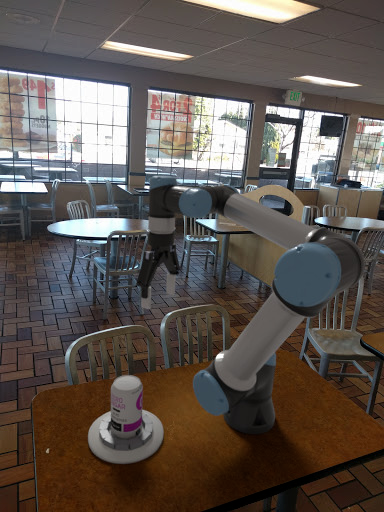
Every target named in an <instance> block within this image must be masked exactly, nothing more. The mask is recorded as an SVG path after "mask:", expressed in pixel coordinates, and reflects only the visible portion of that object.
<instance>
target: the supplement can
mask: <svg viewBox="0 0 384 512" xmlns="http://www.w3.org/2000/svg"><path fill="white" fill-rule="evenodd" d="M143 390H144V386H143V383H142V381H141V379H140V378H139V377H137V376H135V375H131V374H124V375H121V376H118V377H116V378H115V379H114V381H113V383H112V385H111V387H110V411H111V433H112V435H113V436H114V437H116V438H117V439H119V440H130V439H133V438H135V437H137V436H138V435H139V434H140V433H141V430H142V410H143V395H144V391H143Z"/></svg>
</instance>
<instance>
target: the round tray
mask: <svg viewBox="0 0 384 512" xmlns="http://www.w3.org/2000/svg"><path fill="white" fill-rule="evenodd" d="M163 439H164V425H163V423H162V421H161V420H160V419H159V417H157V416H156V415H155V414H153V413H152V412H150V411H147V410H145V409H142V430H141V433H140V434H139V435H138V436H137V437H135V438H133V439H130V440H119V439H117V438H116V437H114V436H113V435H112V433H111V410H110V411H108V412H106V413H104V414H102V415H101V416H99V417H98V418H96V419H95V420H94V421H93V423H92V424H91V425H90V427H89V430H88V434H87V442H88V446H89V448H90V450H91V453H93V454H94V455H95V456H96V457H98V458H99V459H101V460H102V461H105V462H107V463H112V464H118V465H120V464H121V465H126V464H133V463H138V462H140V461H141V462H142V461H143V460H145V459H148V458H149V457H151V456H152V455H153V454H155V453H156V452H157V451H158V450H159V448H160V447H161V445H162V444H163Z"/></svg>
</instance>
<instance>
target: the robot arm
mask: <svg viewBox="0 0 384 512" xmlns="http://www.w3.org/2000/svg"><path fill="white" fill-rule="evenodd" d="M213 214H218V215H220V216H222V217H223V218H225V219H228V220H230V221H232V222H233V223H234V224H237V225H239V226H240V227H243V228H245V229H247V230H249V231H251V232H253V233H254V234H256V235H258V236H260V237H262V238H264V239H265V240H267V241H270V242H271V243H273V244H275V245H277V246H279V247H281V248H283V249H285V250H287V251H285V252H284V253H283V254H282V255H281V256H280V257H279V259H278V260H277V262H276V263H275V268H274V271H273V275H274V278H273V279H272V280H271V284H270V286H271V291H272V292H271V294H270V295H269V297H268V298H267V299H266V300H265V301H264V303H263V304H262V306H260V308H259V309H258V311H257V313H255V315H254V316H253V318H252V319H251V320H250V322H249V323H248V324H247V326H246V327H244V329H243V330H242V332H240V335H239V336H238V338H237V339H236V340H235V341H234V343H233V344H231V346H230V348H229V349H225V350H222V351H220V352H219V353H218V354H217V355H216V356H215V358H214V359H213V360H212V361H211V363H210V364H209V365H208V366H207V367H206V368H204V369H201V370H199V371H198V372H197V373H196V374H195V375H194V377H193V379H192V388H193V391H194V395H195V399H196V400H197V402H198V404H199V405H200V406H201V408H203V409H204V411H205V412H207V413H208V414H210V415H212V416H216V417H217V416H218V417H219V416H221V415H222V417H223V419H224V421H225V422H226V423H227V425H228V426H229V427H230V428H232V429H234V430H235V431H238V432H240V433H243V434H249V435H261V434H265V433H267V432H269V431H271V430H272V428H273V427H274V425H275V421H276V420H275V419H276V412H275V407H274V403H273V399H272V396H273V395H272V394H273V393H272V392H273V388H274V387H273V386H274V379H275V371H276V366H277V362H276V361H277V360H276V359H277V354H276V352H277V350H278V349H279V348H280V347H281V346H282V345H283V344H284V342H285V341H286V340H287V338H289V336H291V335H292V333H293V332H294V331H295V329H297V328H298V326H300V324H301V323H302V322H303V321H304V319H305V318H306V319H312V318H315V317H317V316H318V315H319V314H320V313H321V312H322V311H323V310H324V309H325V308H326V306H327V305H328V304H329V303H330V302H331V301H332V300H333V298H335V297H336V296H337V295H338V294H340V293H343V292H344V291H347V290H348V289H351V288H353V287H354V286H355V285H357V284H358V282H359V281H361V279H362V277H363V275H364V272H365V267H366V261H365V255H364V253H363V251H362V249H361V248H360V247H359V245H358V244H357V243H355V242H354V241H353V240H351V239H350V238H347V237H345V235H341V234H339V233H337V232H334V231H332V230H330V229H328V228H325V227H319V228H315V227H312V226H310V225H308V224H306V223H304V222H301V221H299V220H297V219H295V218H293V217H291V216H288V215H287V214H283V212H280V211H277V210H275V209H273V208H270V207H269V206H266V205H264V204H262V203H260V202H257V201H255V200H253V199H251V198H249V197H246V196H244V195H242V194H241V193H240V192H239V190H238V189H237V188H236V187H234V186H231V185H229V186H228V185H224V184H223V185H214V186H183V185H178V179H177V178H176V177H174V176H171V175H153V176H151V177H150V179H149V188H148V220H147V221H148V228H147V229H148V230H149V231H148V232H147V243H148V245H149V246H150V251H147V250H145V251H144V252H143V256H142V257H143V259H142V263H141V265H140V270H139V273H138V276H137V280H136V283H135V284H136V286H137V287H140V293H141V294H140V295H141V296H140V297H141V300H140V301H141V303H140V304H141V305H140V306H141V307H140V308H142V309H147V310H151V308H152V307H151V306H152V286H150V285H151V283H152V281H153V278H154V276H155V275H156V272H157V269H158V268H159V267H160V266H161V265H162V264H164V266H165V268H166V270H167V272H168V273H167V274H166V287H165V288H166V290H165V291H166V292H165V294H166V295H169V296H175V295H176V281H177V279H176V277H177V276H178V275H179V274H180V270H181V266H180V262H179V257H178V252H177V245H176V244H175V232H174V231H175V230H176V229H175V228H176V224H175V223H176V215H180V216H185V217H188V218H189V219H190V218H192V219H193V218H195V219H203V218H205V216H207V215H213ZM176 275H177V276H176Z"/></svg>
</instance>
